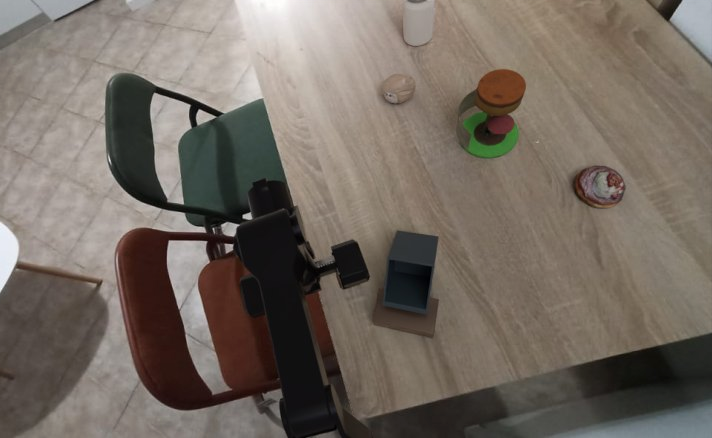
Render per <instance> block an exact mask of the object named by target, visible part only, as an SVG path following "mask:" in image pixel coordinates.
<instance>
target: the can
mask: <svg viewBox="0 0 712 438" xmlns="http://www.w3.org/2000/svg"><path fill="white" fill-rule="evenodd" d="M435 12H436V0H402V24H403V25H402V26H403V27H402V29H403V30H402V31H403V40H404V42H405V43H406V44H408V45H409V46H412V47H421V46H424V45H426V44H428V43H429V42H431V40H432V38H433V36H434V27H435Z"/></svg>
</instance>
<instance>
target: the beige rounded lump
mask: <svg viewBox="0 0 712 438" xmlns="http://www.w3.org/2000/svg"><path fill="white" fill-rule="evenodd" d="M415 91H416V81H415V78H414V77H412V75H409V76H408V75H405V74H402V73H394V74H391V75H390V76H388V77H387V78H386V79H385V80H384V81H383V82H382V84H381V85H380V92H381V94H382V95H383V96H384V98H385V99H386V101H387V102H389V103H391V104H402V103H404V102H406V101H408V100H409V99H411V98H412V97H413V95H414V94H415Z"/></svg>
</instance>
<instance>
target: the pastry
mask: <svg viewBox="0 0 712 438" xmlns="http://www.w3.org/2000/svg"><path fill="white" fill-rule="evenodd" d="M573 185H574V191H575V193H576V195H577V197H578V198H579V200H581V201H582V202H584V204H587V206H589V207H592V208H595V209H609V208H612V207H614V206H617V205H618V204H619V203H620V202H621V201H622V200H623V197H624V194H625V191H626V182H625V181H624V178H623V176H622V175H621V174H620V173H619V172H618V171H617V170H615V169H613V168H611V167H610V166H606V165H592V166H589V167H587V168H584V169H581V170H580V171H579V172H577V174H576V176H575V179H574V183H573Z"/></svg>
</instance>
